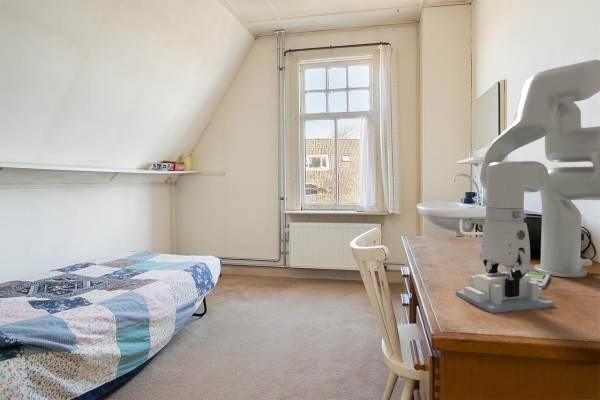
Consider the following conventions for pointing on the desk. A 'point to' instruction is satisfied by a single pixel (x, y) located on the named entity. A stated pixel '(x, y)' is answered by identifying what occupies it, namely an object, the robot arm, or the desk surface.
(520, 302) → the bracket board
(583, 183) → the robot arm
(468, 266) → the desk surface
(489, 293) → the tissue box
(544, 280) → the handheld gaming console
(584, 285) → the desk surface
